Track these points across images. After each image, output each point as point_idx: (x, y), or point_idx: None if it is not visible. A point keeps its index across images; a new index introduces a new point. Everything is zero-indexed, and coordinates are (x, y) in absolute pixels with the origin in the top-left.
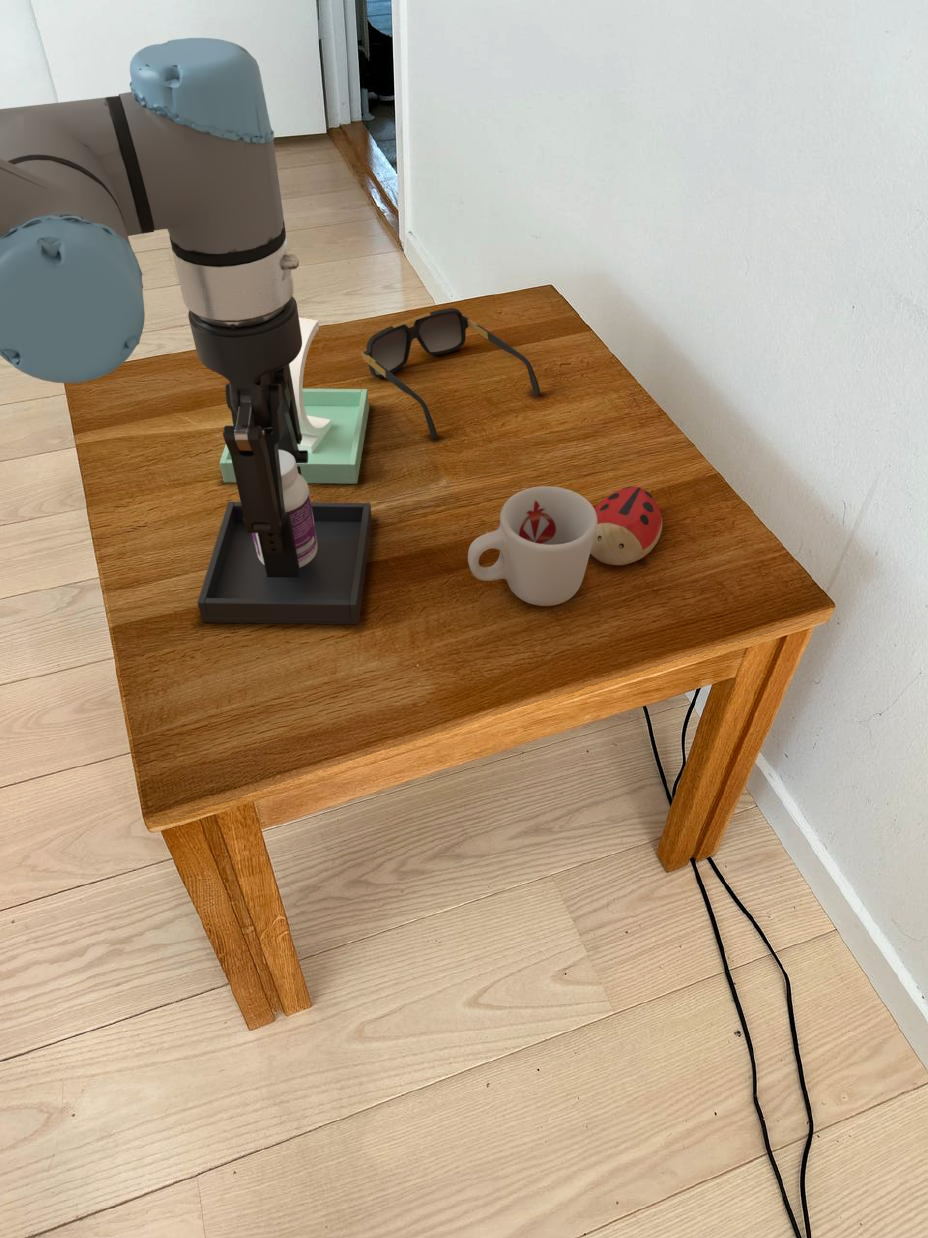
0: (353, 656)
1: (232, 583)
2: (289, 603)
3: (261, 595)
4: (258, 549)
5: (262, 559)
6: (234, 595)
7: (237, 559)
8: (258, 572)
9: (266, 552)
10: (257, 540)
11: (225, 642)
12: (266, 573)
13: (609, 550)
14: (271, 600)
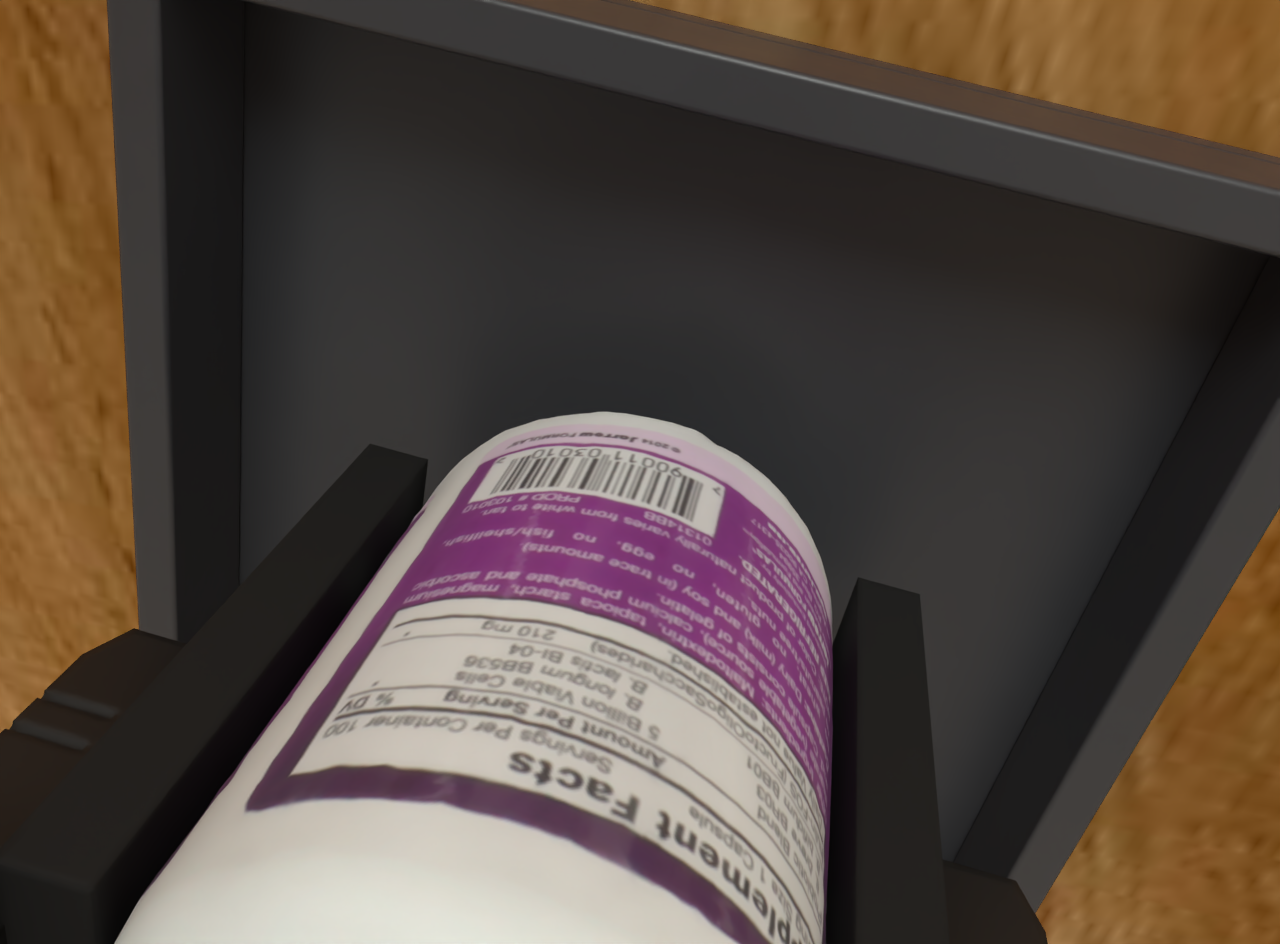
0: (44, 657)
1: (526, 149)
2: (138, 534)
3: (396, 330)
4: (465, 491)
5: (469, 463)
6: (408, 157)
7: (778, 201)
8: (613, 333)
9: (85, 661)
10: (414, 555)
11: (71, 62)
12: (356, 459)
13: None
14: (153, 443)
